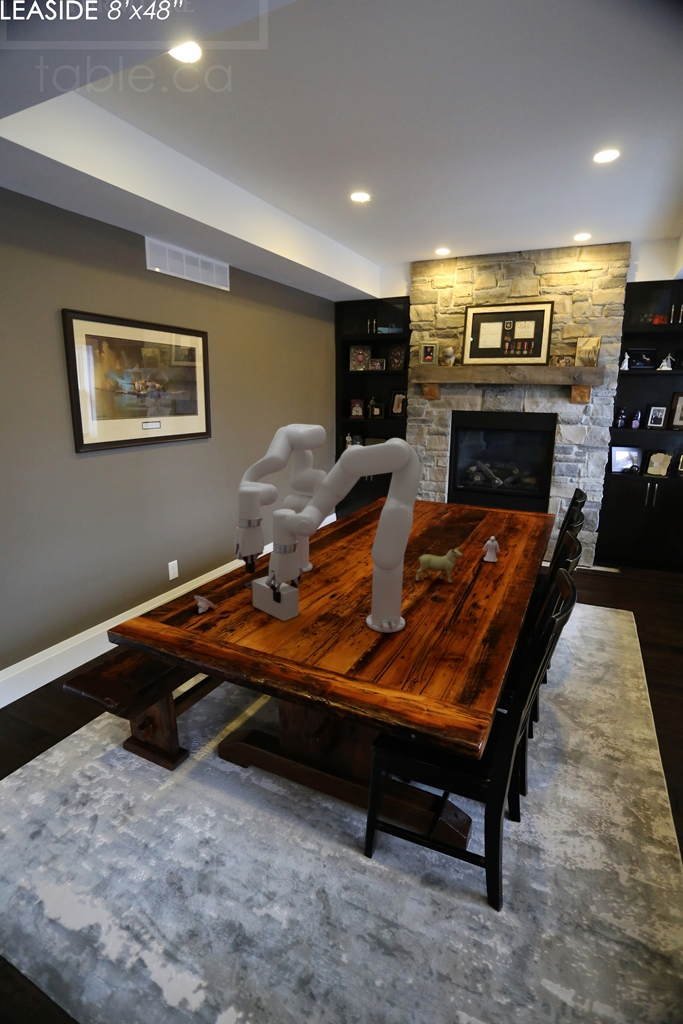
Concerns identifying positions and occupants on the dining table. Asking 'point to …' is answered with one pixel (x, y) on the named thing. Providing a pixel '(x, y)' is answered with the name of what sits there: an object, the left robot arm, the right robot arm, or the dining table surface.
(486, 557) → the figurine
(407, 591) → the dining table surface
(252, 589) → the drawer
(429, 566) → the toy
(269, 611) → the cabinet
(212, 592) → the dining table surface
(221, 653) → the dining table surface
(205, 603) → the seashell
